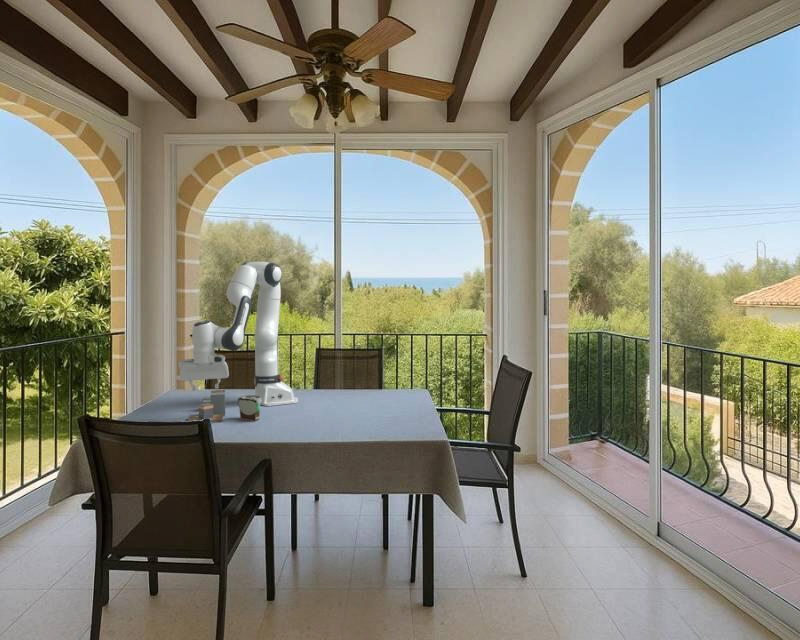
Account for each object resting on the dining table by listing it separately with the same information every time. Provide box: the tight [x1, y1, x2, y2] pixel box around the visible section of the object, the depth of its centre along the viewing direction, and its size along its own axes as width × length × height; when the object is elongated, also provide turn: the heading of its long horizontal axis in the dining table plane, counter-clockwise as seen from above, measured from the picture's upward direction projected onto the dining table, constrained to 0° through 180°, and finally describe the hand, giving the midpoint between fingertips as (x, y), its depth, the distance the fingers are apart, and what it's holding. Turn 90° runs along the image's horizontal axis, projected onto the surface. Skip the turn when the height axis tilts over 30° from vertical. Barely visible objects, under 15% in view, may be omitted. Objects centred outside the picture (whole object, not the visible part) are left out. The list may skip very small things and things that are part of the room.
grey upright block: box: [210, 389, 226, 417], centre depth 246 cm, size 6×6×11 cm
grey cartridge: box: [202, 396, 211, 404], centre depth 255 cm, size 4×4×6 cm
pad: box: [187, 414, 224, 424], centre depth 236 cm, size 14×10×1 cm
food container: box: [237, 394, 262, 422], centre depth 239 cm, size 12×6×10 cm, turn 59°
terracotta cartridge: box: [198, 403, 213, 419], centre depth 235 cm, size 4×4×6 cm
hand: (205, 389), depth 235 cm, fingers open, 8 cm apart
